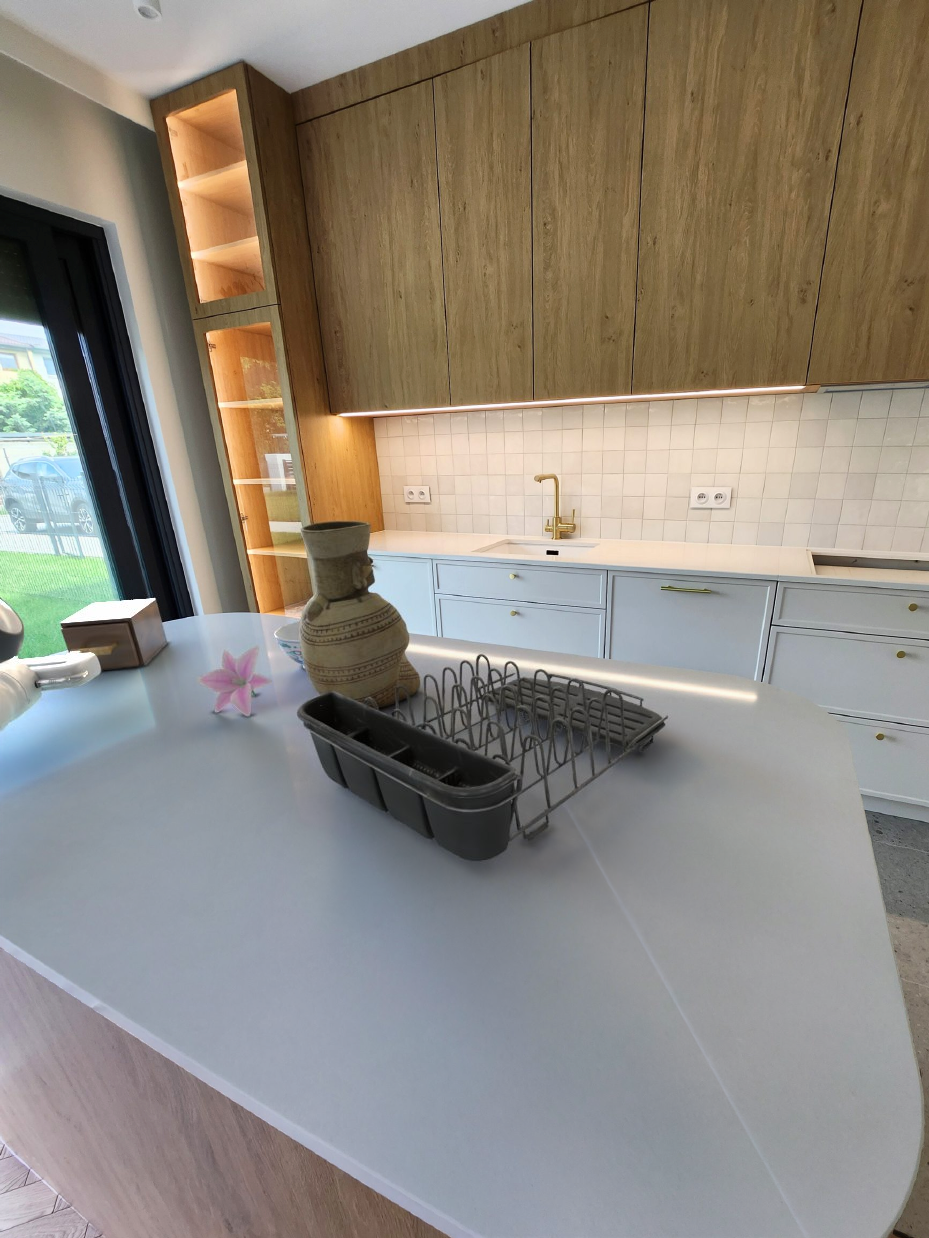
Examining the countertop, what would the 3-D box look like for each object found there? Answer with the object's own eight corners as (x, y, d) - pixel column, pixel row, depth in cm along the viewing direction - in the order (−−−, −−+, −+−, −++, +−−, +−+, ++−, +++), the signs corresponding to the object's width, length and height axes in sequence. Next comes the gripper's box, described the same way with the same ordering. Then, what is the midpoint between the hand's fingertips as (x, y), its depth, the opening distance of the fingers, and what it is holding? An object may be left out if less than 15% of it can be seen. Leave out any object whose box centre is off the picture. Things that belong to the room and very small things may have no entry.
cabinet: (145, 666, 121) (130, 617, 117) (76, 673, 119) (59, 622, 115) (167, 643, 135) (155, 598, 131) (107, 648, 133) (92, 603, 129)
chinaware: (266, 669, 118) (258, 632, 115) (326, 648, 129) (321, 614, 126) (313, 684, 110) (306, 645, 107) (373, 660, 121) (368, 624, 118)
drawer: (129, 673, 115) (116, 631, 111) (63, 680, 113) (48, 636, 109) (160, 643, 132) (149, 605, 129) (104, 648, 130) (91, 610, 127)
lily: (202, 707, 104) (177, 673, 96) (255, 665, 110) (235, 630, 102) (245, 740, 100) (223, 708, 92) (298, 695, 105) (281, 661, 98)
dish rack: (298, 784, 78) (281, 701, 73) (519, 683, 107) (518, 620, 103) (476, 907, 56) (469, 801, 52) (691, 739, 86) (699, 662, 81)
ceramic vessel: (407, 668, 116) (391, 511, 104) (432, 709, 98) (416, 525, 86) (307, 683, 110) (278, 519, 98) (314, 730, 92) (279, 536, 80)
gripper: (73, 662, 89) (108, 635, 102) (-85, 677, 85) (-28, 647, 97) (86, 699, 92) (119, 669, 104) (-67, 716, 87) (-14, 682, 100)
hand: (47, 658), depth 101 cm, fingers open, 8 cm apart
